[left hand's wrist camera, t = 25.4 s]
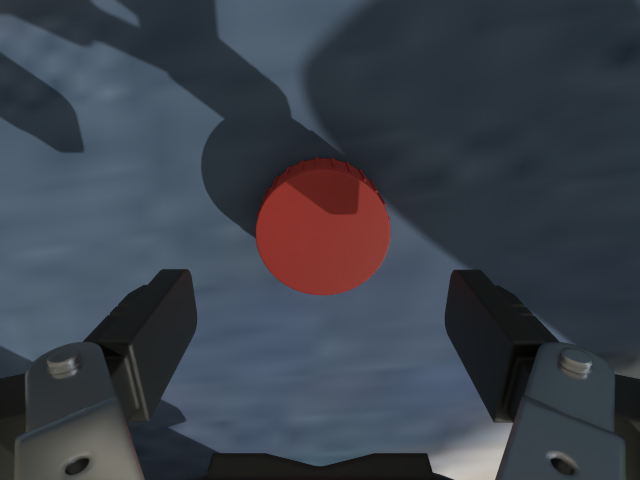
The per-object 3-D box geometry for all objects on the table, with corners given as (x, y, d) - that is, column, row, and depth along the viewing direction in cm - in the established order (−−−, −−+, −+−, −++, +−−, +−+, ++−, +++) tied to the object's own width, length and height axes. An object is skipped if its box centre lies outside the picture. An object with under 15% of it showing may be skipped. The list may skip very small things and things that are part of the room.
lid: (320, 128, 15) (321, 135, 12) (406, 215, 16) (421, 235, 14) (237, 218, 16) (224, 239, 14) (323, 290, 17) (324, 319, 15)
